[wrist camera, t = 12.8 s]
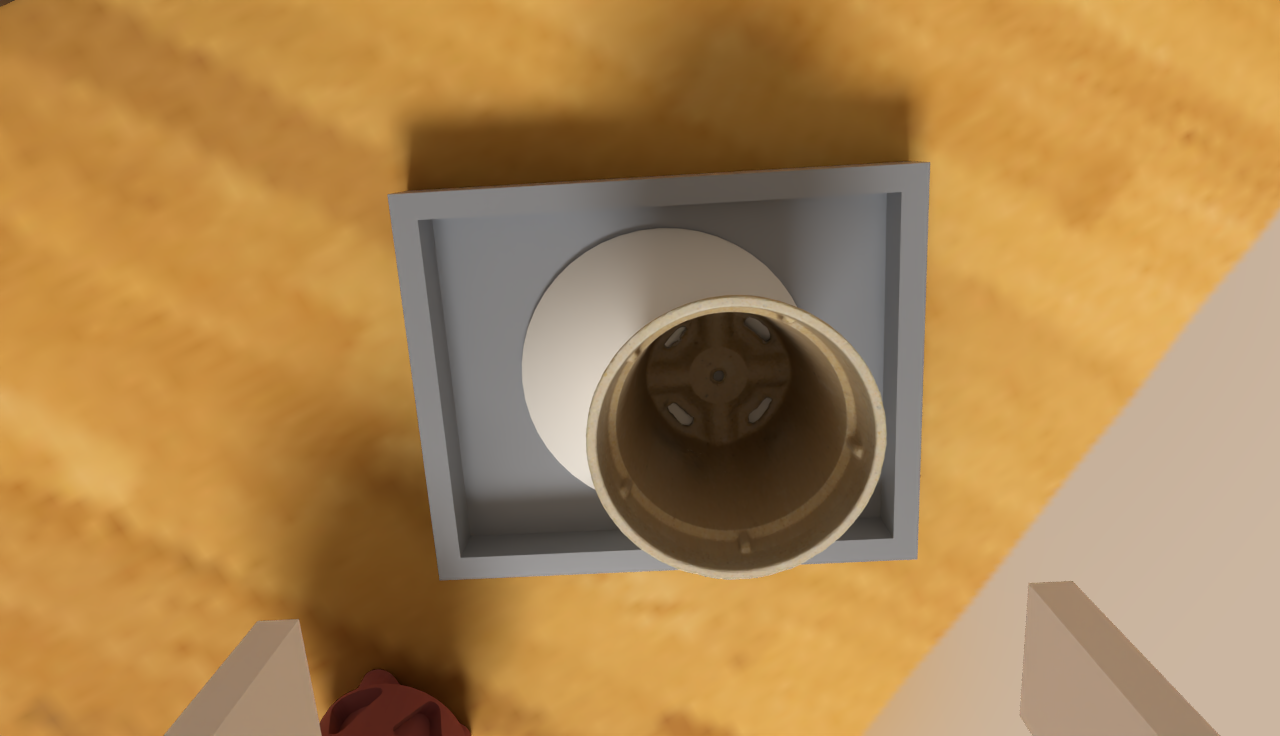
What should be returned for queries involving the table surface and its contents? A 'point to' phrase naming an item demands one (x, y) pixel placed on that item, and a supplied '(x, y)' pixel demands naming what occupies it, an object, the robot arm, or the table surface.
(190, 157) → the table surface
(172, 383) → the table surface
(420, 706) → the mechanical component
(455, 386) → the housing tray
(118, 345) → the table surface
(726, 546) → the flower pot
